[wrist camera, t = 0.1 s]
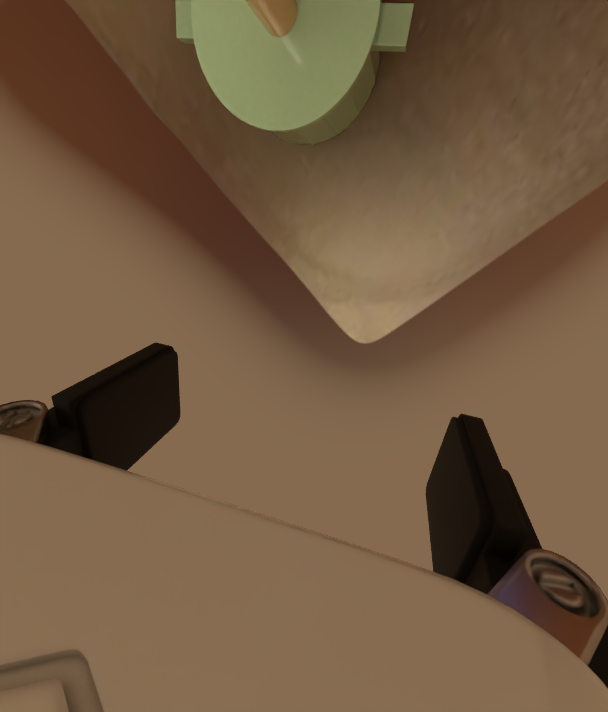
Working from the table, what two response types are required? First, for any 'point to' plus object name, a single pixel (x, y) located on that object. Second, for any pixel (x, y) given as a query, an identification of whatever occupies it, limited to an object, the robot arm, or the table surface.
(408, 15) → the pot
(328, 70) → the lid
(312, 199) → the table surface
